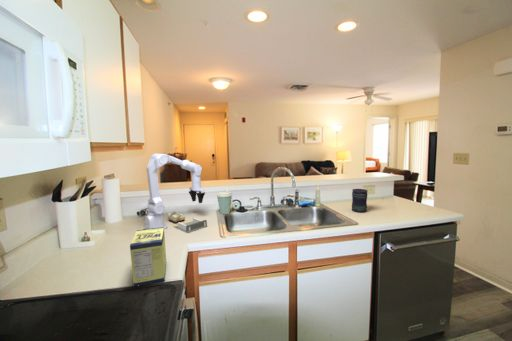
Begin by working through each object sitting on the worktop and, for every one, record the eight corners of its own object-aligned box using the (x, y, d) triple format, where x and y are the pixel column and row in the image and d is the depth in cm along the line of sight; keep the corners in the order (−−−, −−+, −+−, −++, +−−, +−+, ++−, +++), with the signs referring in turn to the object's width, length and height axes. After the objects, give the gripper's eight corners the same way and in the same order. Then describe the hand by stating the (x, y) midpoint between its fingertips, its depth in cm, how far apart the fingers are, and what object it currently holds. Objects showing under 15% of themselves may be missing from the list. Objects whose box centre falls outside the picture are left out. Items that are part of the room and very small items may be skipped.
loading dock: (187, 234, 130) (187, 226, 130) (172, 227, 142) (171, 219, 141) (206, 227, 140) (206, 220, 139) (190, 221, 151) (190, 214, 151)
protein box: (166, 261, 100) (164, 226, 98) (165, 281, 85) (162, 241, 83) (139, 265, 97) (136, 229, 95) (133, 288, 82) (129, 245, 80)
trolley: (175, 224, 145) (174, 216, 145) (168, 220, 151) (167, 213, 151) (185, 221, 150) (184, 213, 150) (178, 218, 156) (177, 210, 156)
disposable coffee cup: (217, 215, 160) (217, 194, 158) (217, 211, 170) (216, 191, 168) (233, 214, 162) (232, 193, 160) (231, 210, 172) (231, 190, 170)
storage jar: (369, 212, 161) (370, 191, 159) (354, 213, 161) (355, 191, 159) (362, 208, 171) (363, 188, 169) (349, 208, 171) (350, 188, 169)
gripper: (207, 182, 154) (208, 202, 156) (195, 180, 164) (196, 199, 166) (198, 183, 149) (199, 204, 151) (186, 181, 159) (187, 201, 160)
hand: (197, 202), depth 158 cm, fingers open, 7 cm apart
